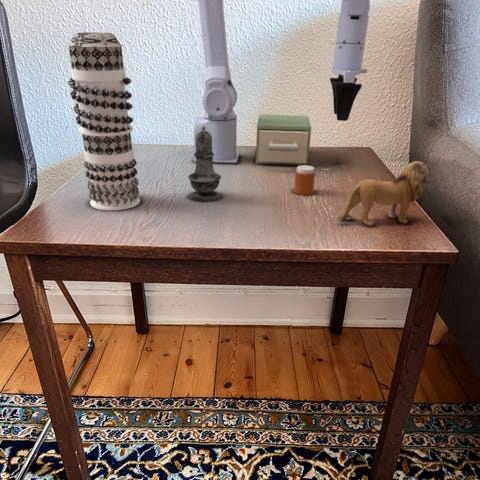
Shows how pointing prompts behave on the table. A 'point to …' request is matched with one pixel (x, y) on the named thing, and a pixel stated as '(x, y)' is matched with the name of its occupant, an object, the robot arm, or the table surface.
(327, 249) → the table surface
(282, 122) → the cabinet
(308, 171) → the spice bottle
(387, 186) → the lion figurine
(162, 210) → the table surface
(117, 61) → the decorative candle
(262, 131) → the drawer
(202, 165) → the stone fountain
